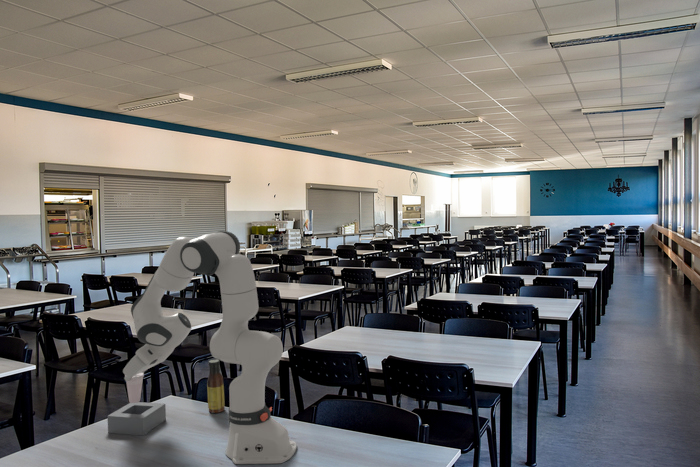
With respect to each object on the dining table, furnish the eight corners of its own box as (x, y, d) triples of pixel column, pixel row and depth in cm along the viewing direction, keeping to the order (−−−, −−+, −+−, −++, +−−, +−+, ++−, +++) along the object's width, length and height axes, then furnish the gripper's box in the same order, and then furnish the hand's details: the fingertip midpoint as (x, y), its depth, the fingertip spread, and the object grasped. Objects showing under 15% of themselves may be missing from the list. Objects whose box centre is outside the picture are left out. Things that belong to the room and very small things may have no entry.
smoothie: (137, 404, 180) (136, 365, 180) (121, 403, 181) (120, 364, 181) (147, 398, 186) (147, 360, 186) (132, 397, 187) (131, 359, 187)
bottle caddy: (165, 419, 190) (165, 403, 190) (143, 435, 177) (143, 418, 176) (132, 417, 193) (132, 401, 193) (108, 432, 179) (107, 415, 179)
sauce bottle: (217, 406, 202) (216, 357, 202) (228, 409, 199) (226, 359, 198) (204, 411, 197) (202, 361, 197) (214, 415, 194) (213, 363, 193)
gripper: (166, 337, 192) (143, 362, 194) (134, 350, 172) (109, 378, 174) (177, 349, 192) (154, 374, 193) (147, 364, 171) (121, 391, 173)
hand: (133, 376), depth 184 cm, fingers closed on smoothie, 6 cm apart
